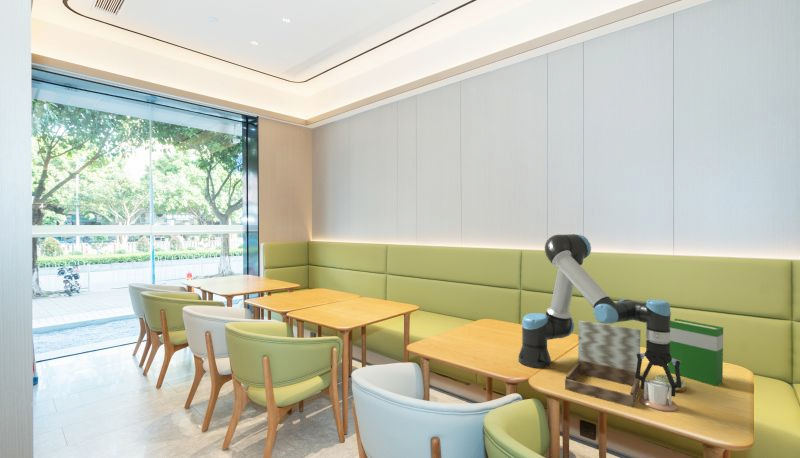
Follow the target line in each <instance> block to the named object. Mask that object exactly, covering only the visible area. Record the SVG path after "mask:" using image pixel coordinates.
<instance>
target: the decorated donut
mask: <svg viewBox="0 0 800 458" xmlns="http://www.w3.org/2000/svg"><path fill="white" fill-rule="evenodd" d="M672 378H673V380H674V382H675V383H677V380H676V376H672ZM653 380H657V381H661V382H664V383H666V384H668V386H669V385H670V382H669V380H668V378H667V375H666V374H658V375H656V376H655V377H654V379H653ZM681 384H682V385H681V388H676V389H675V393H676V392H681V393H682V392H686V390H687V383H686V382H685V381H684V380H682V379H681ZM670 386H671V385H670ZM668 391H669V388H668Z"/></svg>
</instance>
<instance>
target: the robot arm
mask: <svg viewBox="0 0 800 458" xmlns="http://www.w3.org/2000/svg"><path fill="white" fill-rule="evenodd" d="M591 251H592V247H591V243H590V241H589V240H588V238H587V237H586V236H584V235H582V234H575V233H572V234H570V233H569V234H554V235H552V236H551V237H549V238H548V239H547V240H546V241H545V243H544V252H545V256H546V259H548V260H549V262H550V264H552V265H553V266H554V267H557V273H556V278H555V282H554V283H555V284H554V288H553V293H552V298H551V302H550V307H547V308H546V311H545V314H544V313H542V312H541V313H540V312H531V313H527V314H525V315H524V316H523V317H522V322H521V326H522V327H521V328H522V330H521V333H522V334H521V335H522V339H521V344H522V346H521V348H520V349H519V350H520V351H519V353H518V362H519V363H520V364H521V365H524V366H527V367H530V368H537V369H539V368H540V369H543V368H548V367H550V366H551V365H552V359H551V355H550V353H549V350H548V349H549V348H548V340H556V339H564V338H566V337H569V336H570V335H572V333H573V332H574V329H575V322H574V321H573V320H574V319H573V318H572V314H571V313H570V306H571V303H572V297H573V294H574V288H576V289H577V290H578V292H580V294H581V295H582V297H583V298H584V299H585V300H586V301H587V303H589V305H591V307H592V308H593V315H594V318H595V320H596V321H597V322H599V324H605V325H611V324H614V323H621V322H629V321H636V322H641V323H645V326H646V328H645V329H646V333H645V336H646V337H645V338H646V341H645V345H646V346H645V348H646V349H645V352H641V351H640V352H638V353H637V358H638V363H637V369H636V376H635V377H636V379H639V380H640V389H641V390H643V395H644V399H646V400H647V394H648V388H647V381H648V380H647V378H648V375H649V373H650V371H651V369H652V367H653V366H654V367H655V366H657V367H661V368H662V369H663V371H664V372H665V375H667V378H668V380H669V382H670V385H671V386H670V385H669V390H668V399H669V405H670V406H671V404H672V401H673V400H672V399H673V398H672V397H675V396H676V391H675V389H676V388H681V385H682V384H681V380H682V376H680V370H679V365H680V360H679V359H677V360H676V359H674V358H672V357H671V355H670V343H669V342H670V321H671V315H672V312H671V304H670V302H668V301H666V300H661V299H647V300H646V302H642V301H641V302H640V301H634V300H632V299H623V298H622V299H619V300H618V301H616V302H615V301H614V300H613V299H612V298H611V297H610V296H609V295H608V294H607V293H606V292H605V290H603V289H602V287H601V286H600V285H599V284H598V283H597V282H596V281H595V280H594V279H593V278H592V276H591V275H590V274H588V272H587V271H586V270H585V269H584V268H583V267H582V265H583V263H584V259H587V257H589V256H590V255H591ZM644 358H646V360H647V361H649V362H648V363H647V365H646V368H645V370H644V371H643V374H642V375H641V370H642V363H643V359H644ZM670 361H672V362H673V365H675V373H676V375H675V378H676V380H677V383H675V382H674V380H673V378H672V377H673V376H672V375H673V374H672V373H670V370H669V368H668V363H669V362H670Z"/></svg>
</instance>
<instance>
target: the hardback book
mask: <svg viewBox="0 0 800 458" xmlns="http://www.w3.org/2000/svg"><path fill="white" fill-rule="evenodd" d="M669 343H670V355H671V357H672V358H674V359H676V360H677V359H679V360H680V365H679V370H680V377H681V378H686V379H689V380H693V381H695V382H700V383H703V384H706V385H709V386H713V387H718V386H719V385H721V384H722V383H723V380H724V379H723V376H724V375H723V374H724V373H723V372H724V371H723V369H724V366H723V365H724V362H723V361H724V327H723V326H716V325H712V324H709V323H708V324H707V323H701V322H696V321H690V320H685V319H680V318H674V321H673V320H670V342H669ZM667 365H668V368H669V370H670V373H671V375H675V376H676V373H675V365H673V362H672V361H670V362H669V363H668V364H667Z"/></svg>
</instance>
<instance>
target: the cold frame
mask: <svg viewBox="0 0 800 458" xmlns="http://www.w3.org/2000/svg"><path fill="white" fill-rule="evenodd" d="M577 329H578V332H577V333H578V335H577V338H578V339H577V340H578V342H577V344H578V345H577V348H578V349H577V357H578V358H577V362H576V364H575V365H574V366H573V367H572V368H571V369H570V371H569V372H568V373H567V374H566V376H565V379H564V390H567V391H570V392H571V391H572V392H575V393H579V394H583V395H586V396H589V397H594V398H598V399H602V400H604V401H609V402H612V403H616V404H620V405H624V406H627V407H631V408H633V407H634V406H635V402H636V399H637V395H638V393H639V390H640V388H641V381H640V380H639V379H636V377H635V376H636V369H637V363H638V358H637V353H638V352H640V353H641V329H637V328H633V327H624V326H618V325H611V324H603V323H600V322H599V323H598V322H592V321H584V320H578V328H577ZM580 375H583V376H589V377H592V378H597V379H601V380H606V381H609V382H614V383H618V384H622V385H626V386H631V389H630V392H629V393H630V394H628V393H625V392H620V391H617V390H612V389H608V388H604V387H601V386H596V385H592V384H588V383H585V382H580V381H576V379H578V377H579V376H580Z"/></svg>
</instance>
